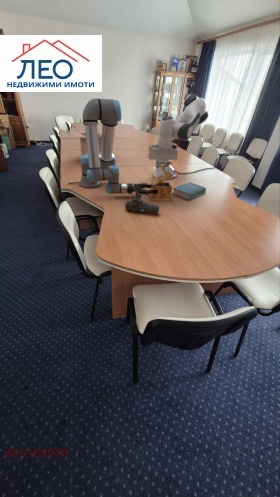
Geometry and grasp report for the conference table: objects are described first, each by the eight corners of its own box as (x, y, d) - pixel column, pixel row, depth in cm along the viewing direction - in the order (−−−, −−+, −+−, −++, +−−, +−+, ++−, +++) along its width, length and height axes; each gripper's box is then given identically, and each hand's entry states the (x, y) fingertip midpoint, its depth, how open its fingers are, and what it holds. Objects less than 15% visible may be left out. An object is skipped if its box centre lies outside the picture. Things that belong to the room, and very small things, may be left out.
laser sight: (156, 217, 143) (158, 203, 137) (123, 212, 146) (123, 198, 140) (159, 211, 151) (160, 197, 145) (127, 206, 154) (127, 192, 148)
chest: (167, 195, 175) (169, 182, 168) (170, 200, 167) (172, 186, 160) (150, 195, 173) (151, 181, 166) (151, 200, 165) (153, 186, 159)
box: (116, 165, 229) (116, 136, 213) (83, 168, 214) (80, 137, 198) (102, 154, 259) (101, 128, 243) (71, 156, 244) (68, 129, 228)
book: (188, 187, 190) (190, 182, 187) (205, 193, 181) (206, 187, 178) (172, 193, 177) (173, 187, 174) (188, 200, 168) (190, 194, 165)
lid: (169, 171, 163) (164, 161, 158) (172, 176, 156) (167, 165, 150) (151, 181, 166) (146, 171, 161) (153, 186, 159) (148, 176, 154)
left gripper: (125, 187, 174) (153, 188, 176) (127, 199, 156) (158, 200, 159) (126, 178, 169) (154, 178, 172) (128, 189, 151) (160, 190, 154)
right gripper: (150, 145, 143) (148, 167, 151) (180, 146, 146) (177, 167, 155) (148, 143, 148) (146, 164, 156) (177, 144, 151) (174, 164, 159)
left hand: (156, 189), depth 165 cm, fingers closed on chest, 10 cm apart
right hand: (162, 166), depth 155 cm, fingers closed
